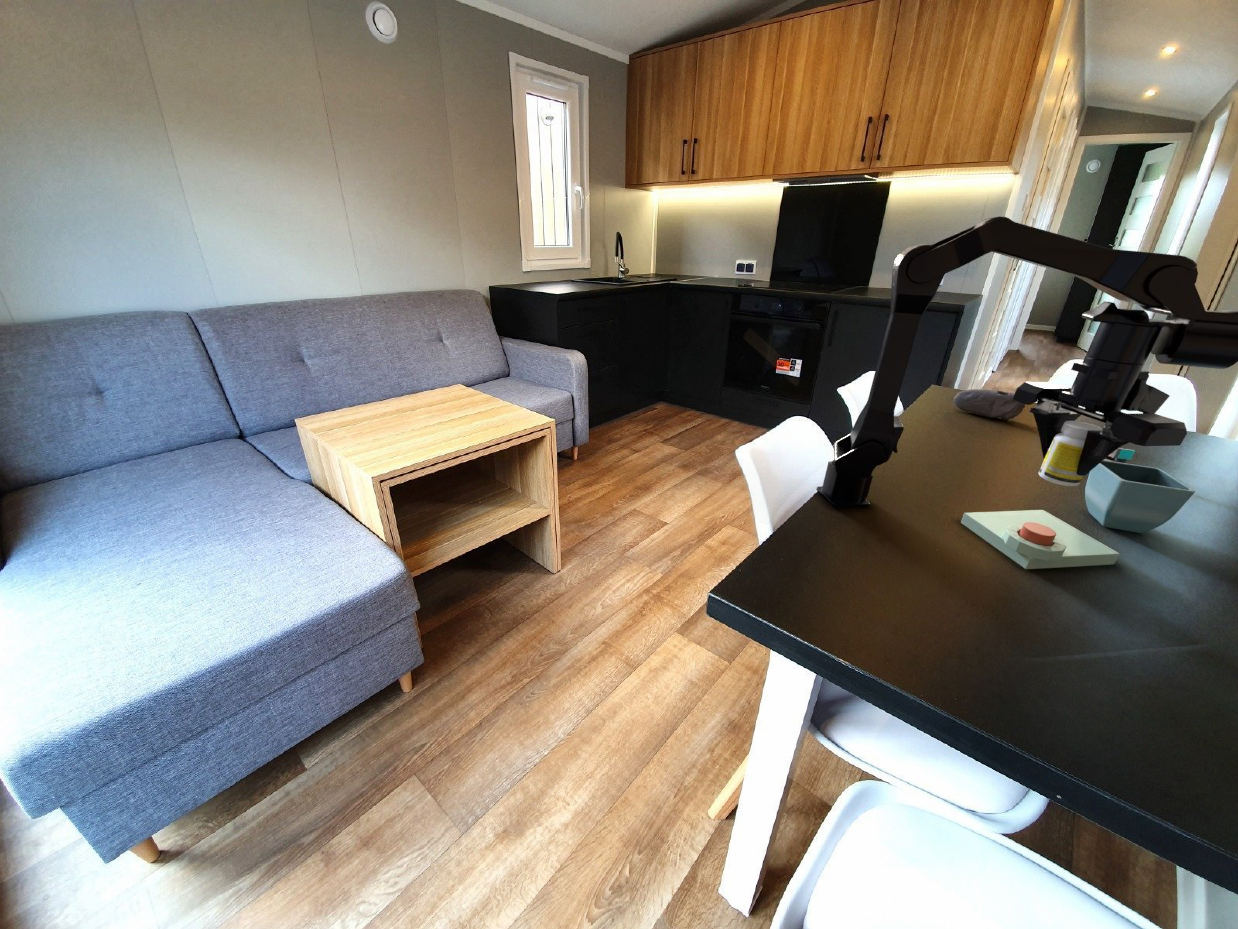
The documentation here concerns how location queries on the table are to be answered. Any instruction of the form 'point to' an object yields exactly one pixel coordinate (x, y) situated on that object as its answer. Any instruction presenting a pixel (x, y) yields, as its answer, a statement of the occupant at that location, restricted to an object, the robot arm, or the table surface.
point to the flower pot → (1133, 496)
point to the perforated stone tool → (989, 403)
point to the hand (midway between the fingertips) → (1063, 467)
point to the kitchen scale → (1062, 552)
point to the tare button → (1037, 533)
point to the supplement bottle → (1066, 454)
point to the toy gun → (1120, 455)
